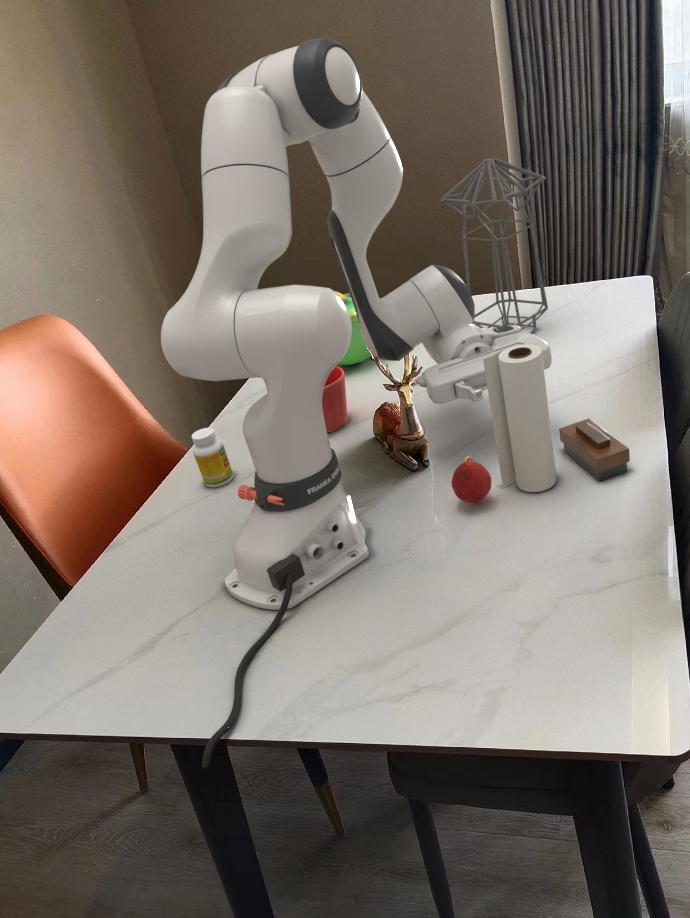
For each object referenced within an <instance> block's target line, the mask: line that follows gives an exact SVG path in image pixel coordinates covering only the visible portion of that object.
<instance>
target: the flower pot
mask: <svg viewBox="0 0 690 918" xmlns="http://www.w3.org/2000/svg"><path fill="white" fill-rule="evenodd" d="M322 410H323V416H324V421H325V426H326V430H327V433H331V432H334V431H337V430H339V429H341V428H342V427H343V426H345V425H346V423H347V422H348V403H347V389H346V377H345V372H344V369H343V368H342V367H340V366H338V365H336V366H335V368H334V369H333V370H332V371H331V373H330V374H329V376H328V378H327V380H326V383H325V385H324V389H323V395H322Z"/></svg>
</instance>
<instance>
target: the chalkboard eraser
mask: <svg viewBox="0 0 690 918" xmlns="http://www.w3.org/2000/svg"><path fill="white" fill-rule="evenodd" d="M558 431H559V441H560V442H561V443H562V444H563V451H564V452H565V453H566V454H567V455H569V457H571V458H572V459H573V460H574V461H575V462H577V463H578V464H579V465H580V466H581V467H582V468H583V469H585V470H586V471H587V472H588V473H589V474H591V475H592V476H593V477H594V478H595V479H597V481H599V482H601V481H604V480H607V479H610V478H613V477H616V476H618V475H621V474H624V473H626V472H628V463H629V462H631V459H630V448H629V447H628V446H626V445H625V444H624V443H622V442H621V441H620V440H618V439H617V438H616V437H615V436H613V435H612V434H611V433H609V432H608V431H606V430H605V429H604V428H603V427H602V426H600V425H599V424H597V423H596V422H595V421H593V420H591V418H586V419H583V420H581V421H577V422H574V423H572V424H568V425H566V426H563V427H559V428H558Z"/></svg>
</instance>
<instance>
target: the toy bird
mask: <svg viewBox="0 0 690 918" xmlns="http://www.w3.org/2000/svg"><path fill="white" fill-rule="evenodd" d="M333 291H334V292H336V293H337V294H338V295H339V297H340V298H341V299H342V300H343V302H344V303H345V305H346V307H347V309H348V311H349V314H350V318H351V323H352V336H351V341H350V345H349V348H348V350H347V352H346V354H345V356H344V357H343V359H342V360H341V361H340V362H339V363H338V364H337V365H336V366H350V365H356V364H359V363H362V362H365V361H366V360H368V359H370V358H371V357H372V356H371V353H370V352H369V350H368V349H367V346H366V344H365V342H364V339H363V337H362V334H361V330H360V324H359V321H358V318H357V314H356V311H355V308H354V305H353V302H352V299H351V296H350V293H345V294H342V293H341V292H339V291H335V290H333Z"/></svg>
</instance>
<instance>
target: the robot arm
mask: <svg viewBox="0 0 690 918" xmlns="http://www.w3.org/2000/svg"><path fill="white" fill-rule="evenodd" d="M362 81H363V80H362V76H361V72H360V69H359V66H358V64H357V62H356V59H355V58H354V57H353V55H352V54H351V52H350V51H349V50H348V49H347V48H346V47H345V46H343V44H341V43H340V42H339V41H337V40H335V39H334V38H331V37H317V38H312V39H307V40H304V41H303V42H301V43H300V44H299V45H296V46H293V47H290V48H286V49H283V50H281V51H278V52H275V53H271V54H267V55H266V56H264V57H261V58H260V59H258V60H256V61H253V63H251V64H249V65H248V66H246V67H245V68H243V69H242V70H240V71H236V72H233V73H232V74H230V75H229V76H228V77H227V78H226V79H224V80H223V82H222V83H221V84H220V85H219V86H218V88H217V90H216V92H214V93H213V94H212V95H211V96H210V97H209V99H208V100H207V102H206V105H205V108H204V113H203V121H202V129H201V130H202V131H201V132H202V133H201V145H200V170H201V171H200V172H201V175H200V176H201V190H202V217H203V218H202V221H203V223H202V226H203V227H202V229H203V230H202V233H203V234H202V245H201V250H200V256H199V259H198V263H197V266H196V269H195V271H194V274H193V276H192V278H191V280H190V283H189V284H188V286H187V288H186V290H185V291H184V293H183V294H182V296H181V297H180V298H179V299H178V301H177V302H176V303H175V304H174V305H173V306H172V307H171V308H169V310H168V311H167V313H166V314H165V316H164V318H163V322H162V324H161V328H160V345H161V349H162V352H163V355H164V357H165V359H166V361H167V362H168V364H169V366H170V367H171V368H172V369H173V370H174V372H175V373H177V374H178V375H179V376H181V377H184V378H188V379H195V380H201V381H210V382H223V381H233V380H234V381H235V380H242V379H243V380H244V379H254V378H257V379H262V380H263V381H264V384H265V387H266V392H267V393H266V394H264V395H263V396H262V397H261V398H259V399H258V400H257V401H255V402H254V403H253V404H252V405H251V406H250V407H249V409H248V410H247V412H245V413H246V414H245V416H244V419H243V424H242V434H243V437H244V440H245V443H246V446H247V448H248V452H249V453H250V454H249V455H250V457H251V460H252V464H253V467H254V470H255V471H254V484H253V485H254V486H248V485H247V484H241V485H239V486H238V488H237V492H236V493H237V496H238V498H239V499H241V500H246V501H248V502H252V501H253V500H254V504H253V506H252V508H251V509H250V513H249V514H248V516H247V518H246V520H245V522H244V524H243V527H242V528H241V530H240V532H239V534H238V536H237V538H236V540H235V542H234V544H233V549H232V550H233V553H232V554H233V559H234V565H235V567H234V568H233V569H232V570H231V572H229V574H228V575H227V576H226V577H225V579H224V585H225V588H226V591H227V592H228V593H229V594H230V595H231V596H232V597H233V598H234V599H236V600H238V601H240V602H242V603H244V604H247V605H249V606H252V607H254V608H255V607H256V608H259V609H264V610H272V611H277V613H276V615H275V617H274V619H273V620H272V622H271V624H270V625H269V627H267V629H266V630H265V632H264V633H263V634H262V635H261V636H260V637H259V638H258V640H256V642H255V643H253V645H252V646H251V647H250V648H249V649H248V650H247V651H246V652H245V654H244V656H243V657H242V659H241V661H240V663H239V664H238V666H237V669H236V673H235V677H234V687H233V688H234V689H233V701H232V702H233V703H232V707H231V711H230V714H229V715H228V718H227V719H226V721H225V722H224V724H223V725H221V727H219V728H218V730H216V731H215V732H214V733H213V735H211V737H210V739H209V740H208V742H207V743H206V745H205V747H204V751H203V754H202V760H201V767H202V769H207V768H208V767H209V766H210V764H211V760H212V754H213V753H214V749H215V747H216V745H217V744H218V742H219V741H220V740H221V739H222V738H223V737H224V736H225V735H226V734H227V733H228V732H229V731H230V730H231V728H232V727H233V726H234V725H235V724H236V721H237V719H238V717H239V713H240V710H241V705H242V690H243V689H242V688H243V687H242V686H243V678H244V674H245V671H246V669H247V666H248V664H249V663H250V661H251V660H252V658H253V657H254V656H255V654H256V653H257V652H258V651H259V650H260V649H261V648H262V646H263V645H265V643H266V642H267V641H268V639H269V638H270V637H272V635H273V634H274V633H275V632H276V630H277V628H278V627H279V625H280V623H281V622H282V621H283V618H284V616H285V614H286V612H287V610H289V609H293V608H294V607H296V606H297V605H298V604H299V605H300V603H302V602H303V601H305V600H306V599H308V598H309V597H311V596H312V595H314V594H315V593H316V592H319V590H322V589H323V588H324V587H326V586H327V585H329V584H330V583H332V582H333V581H334V580H336V579H338V578H340V576H342V575H344V574H345V573H347V572H348V571H350V570H351V569H352V568H354V567H356V566H357V565H359V564H360V563H361V562H363V561H365V560H367V558H368V557H369V556H370V552H369V549H368V546H367V544H366V538H367V531H366V528H365V526H364V525H363V523H362V522H361V521H360V519H359V517H358V516H357V514H356V512H355V510H354V506H353V503H352V499H351V496H350V495H347V493H346V490H345V487H344V485H343V482H342V470H341V466H340V463H339V459H338V456H337V454H336V451H335V449H333V447H331V443H330V439H329V435H328V432H327V430H326V426H325V421H324V416H323V410H322V395H323V389H324V385H325V383H326V380H327V378H328V376H329V374H330V373H331V371H332V370H333V369H334V368H335V366H338V365H337V364H338V363H339V362H340V361H341V360H342V359H343V357H344V356H345V354H346V352H347V350H348V348H349V345H350V341H351V336H352V323H351V318H350V314H349V311H348V309H347V307H346V305H345V303H344V302H343V300H342V299H341V298H340V297H339V295H338V294H337V293H336V292H337V291H335V290H334V289H332V288H331V287H326V286H325V287H324V286H316V285H307V284H306V285H305V284H289V285H288V284H287V285H282V286H274V287H266V288H258V287H259V283H260V281H261V278H262V277H263V274H264V273H265V271H266V270H267V268H268V267H269V266H270V265H271V264H272V263H274V262H275V261H276V260H278V259H279V258H281V256H282V255H284V254H285V252H286V251H287V249H288V247H289V246H290V243H291V240H292V237H293V221H292V205H291V204H292V203H291V185H290V184H291V183H290V172H289V170H290V169H289V163H288V162H289V160H288V153H287V147H289V146H293V145H299V144H302V143H305V142H307V141H308V142H309V145H310V148H311V150H312V152H313V154H314V156H315V159H316V160H317V163H318V165H319V167H320V168H321V171H322V173H323V175H324V176H325V178H326V180H327V182H328V185H329V189H330V195H331V210H330V211H329V213H328V216H327V217H326V224H327V225H326V226H327V230H328V235H329V238H330V241H331V244H332V245H331V246H332V248H333V250H334V254H335V257H336V260H337V263H338V266H339V268H340V271H341V274H342V277H343V280H344V282H345V285H346V288H347V290H348V294H350V296H351V299H352V302H353V305H354V308H355V311H356V314H357V318H358V321H359V324H360V330H361V334H362V337H363V339H364V342H365V344H366V345H367V347H368V348H369V350H370V351H371V352H372V353H373V354H374V355H373V356H375V358H377V359H379V360H383V361H388V362H389V361H391V362H400V361H401V360H403V359H404V358H405V357H406V356H407V355H408V354H410V353H411V352H412V351H414V350H415V348H416V347H418V346H420V345H421V344H422V345H423V348H424V349H425V351H426V352H427V354H428V355H429V356H430V358H432V360H433V361H434V363H436V364H435V365H432V366H430V367H428V368H426V369H425V370H424V371H423V372H422V373H421V375H419V376H416V380H415V382H416V383H417V384H418V385H419V386H420V387H421V388H426V393H427V396H428V397H429V399H430V401H431V402H432V403H433V404H436V405H444V404H447V403H450V402H453V401H456V400H470V401H471V402H472V403H477V402H479V401H482V400H484V396H483V391H486V390H488V388H487V382H486V375H485V369H484V363H483V359H484V358H488V357H490V356H492V355H494V354H496V353H498V352H499V351H501V350H504V349H507V348H510V347H513V346H517V345H524V344H527V345H535V346H539V347H540V348H541V349H542V356H543V365H544V371H545V370H547V369H549V368H550V367H551V366H552V362H553V361H552V360H553V359H552V358H553V357H552V351H551V347H550V345H549V344H548V342H546V341H545V340H543V339H542V338H540V337H538V336H536V335H535V334H533V333H531V334H530V332H524V331H523V330H522V331H523V332H522V331H521V328H522V327H519V326H518V325H507V326H504V327H490V328H487V327H484V328H480V327H476V325H475V324H473V323H472V322H473V321H475V318H476V317H475V314H476V305H475V301H474V299H473V296H472V293H471V294H470V292H469V290H468V288H467V284H465V282H464V281H463V279H462V278H461V277H460V276H459V275H458V274H457V273H456V272H455V271H453V269H450V268H448V267H446V266H443V265H440V264H431V265H429V266H428V267H426V268H424V269H423V270H421V271H419V272H418V273H417V274H415V275H413V276H412V277H410V278H409V279H408V280H407V281H405V282H404V283H402V284H401V285H400V286H398V287H397V288H395V289H393V290H392V291H391V292H389V293H388V294H386V295H384V296H383V297H379V293H378V290H377V288H376V285H375V282H374V279H373V275H372V272H371V269H370V266H369V264H368V260H367V250H368V246H369V244H370V241H371V240H372V237H373V235H374V234H375V232H376V230H377V228H378V226H379V225H380V223H381V222H382V221H383V220H384V218H385V217H386V215H387V214H388V213H389V212H390V211H391V209H392V208H393V206H394V204H395V203H396V200H397V199H398V196H399V194H400V191H401V188H402V184H403V177H404V168H403V164H402V161H401V158H400V155H399V152H398V150H397V147H396V146H395V143H394V140H393V139H392V137H391V134H390V133H389V131H388V128H387V127H386V124H385V123H384V121H383V119H382V117H381V116H380V113H379V112H378V110H377V109H376V107H375V106H374V104H373V103H372V101H371V99H370V98H369V96H368V95H367V94H366V92H365V91H364V90H363V82H362ZM334 291H335V292H334ZM406 347H407V348H406ZM407 351H408V354H407ZM228 727H229V728H228ZM223 734H224V735H223ZM214 744H216V745H214Z"/></svg>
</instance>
